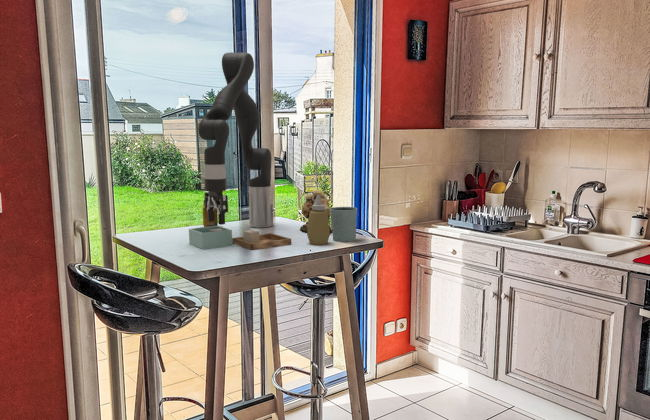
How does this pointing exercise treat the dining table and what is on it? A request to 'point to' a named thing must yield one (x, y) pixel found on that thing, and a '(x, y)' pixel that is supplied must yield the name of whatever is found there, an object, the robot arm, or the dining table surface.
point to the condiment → (205, 218)
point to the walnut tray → (263, 242)
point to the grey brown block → (215, 230)
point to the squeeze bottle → (318, 224)
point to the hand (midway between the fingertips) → (216, 222)
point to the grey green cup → (344, 223)
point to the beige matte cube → (251, 236)
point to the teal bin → (210, 237)
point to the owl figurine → (308, 207)
